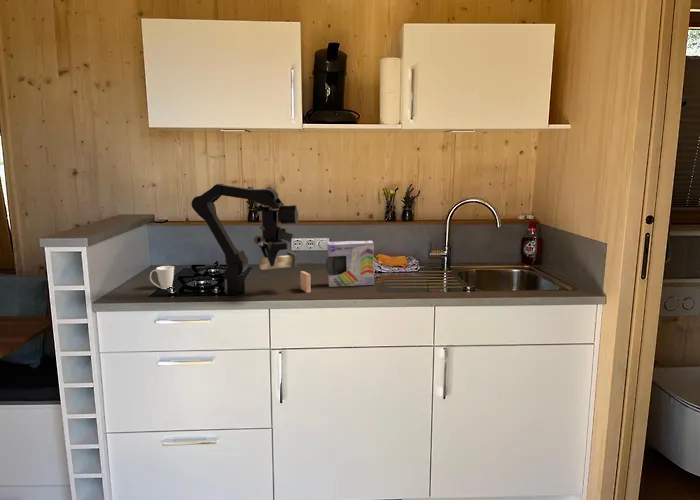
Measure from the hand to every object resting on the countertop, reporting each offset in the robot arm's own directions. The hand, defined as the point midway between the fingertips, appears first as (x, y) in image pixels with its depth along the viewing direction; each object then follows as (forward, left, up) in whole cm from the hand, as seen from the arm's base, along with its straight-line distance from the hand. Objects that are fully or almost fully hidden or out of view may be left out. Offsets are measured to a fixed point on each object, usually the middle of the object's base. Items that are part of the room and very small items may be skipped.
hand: (270, 265), depth 186 cm
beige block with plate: (+3, 0, -1) cm, 3 cm away
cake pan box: (+32, -2, -11) cm, 34 cm away
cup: (-35, +28, -11) cm, 46 cm away
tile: (+13, -1, -11) cm, 17 cm away
